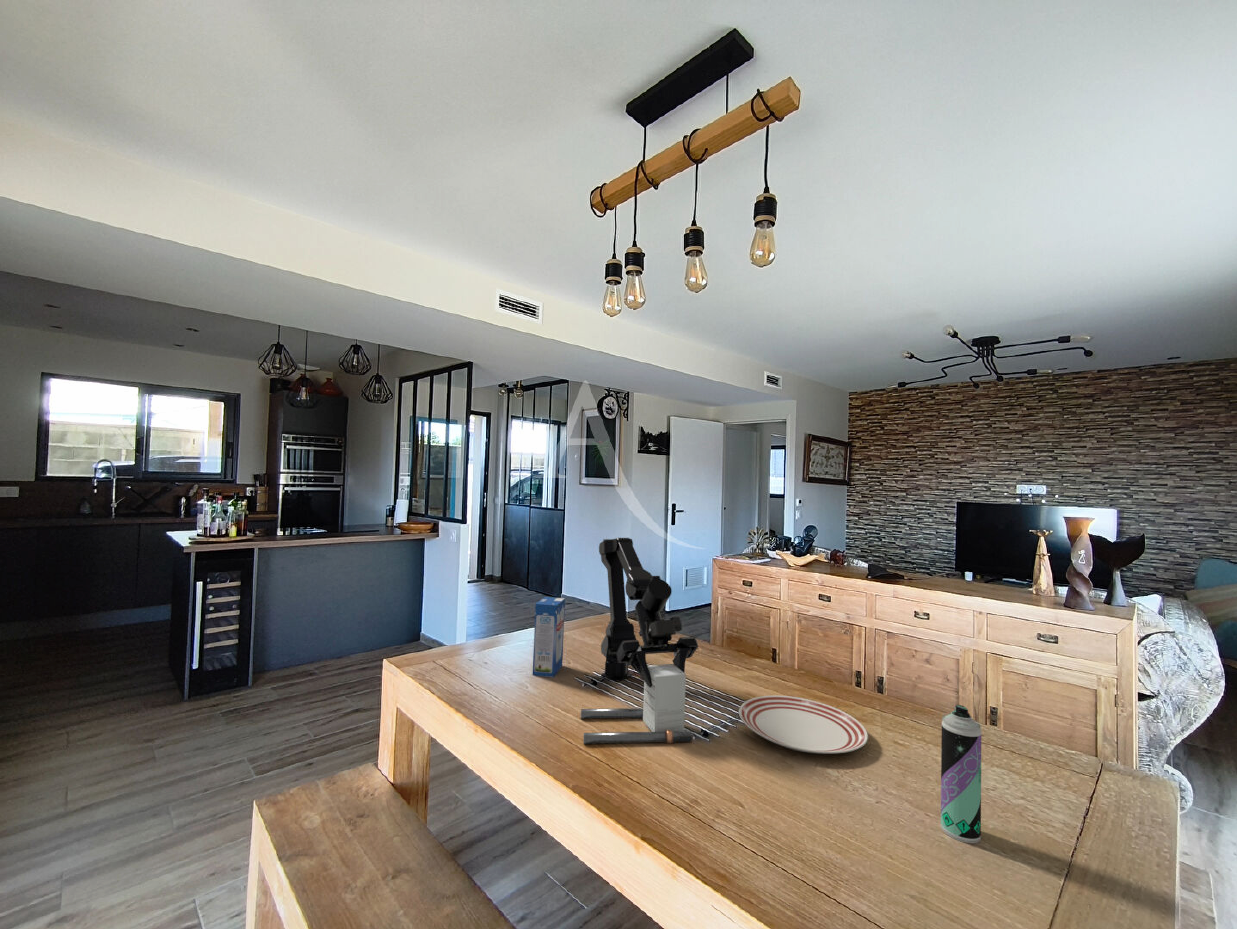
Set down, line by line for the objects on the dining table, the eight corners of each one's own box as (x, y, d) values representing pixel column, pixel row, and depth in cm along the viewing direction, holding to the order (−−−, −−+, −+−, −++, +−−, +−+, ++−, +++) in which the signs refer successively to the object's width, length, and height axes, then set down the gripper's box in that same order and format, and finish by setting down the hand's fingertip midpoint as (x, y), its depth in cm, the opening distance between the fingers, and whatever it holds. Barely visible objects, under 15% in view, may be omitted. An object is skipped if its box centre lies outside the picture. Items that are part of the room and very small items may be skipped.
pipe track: (583, 747, 110) (584, 734, 110) (580, 717, 124) (581, 705, 124) (692, 745, 112) (692, 732, 112) (676, 715, 127) (676, 704, 127)
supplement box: (671, 718, 124) (673, 663, 124) (684, 732, 117) (686, 673, 117) (641, 720, 121) (643, 664, 122) (653, 735, 114) (655, 675, 115)
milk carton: (542, 663, 159) (545, 596, 160) (562, 665, 158) (565, 598, 159) (532, 675, 149) (535, 603, 150) (553, 677, 148) (556, 605, 149)
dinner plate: (884, 735, 120) (885, 720, 120) (839, 781, 100) (839, 763, 100) (772, 699, 139) (772, 686, 139) (715, 731, 119) (715, 716, 119)
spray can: (932, 821, 88) (934, 699, 89) (963, 821, 89) (964, 699, 90) (956, 843, 83) (957, 713, 84) (989, 843, 83) (990, 713, 84)
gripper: (622, 605, 121) (637, 671, 110) (696, 603, 127) (717, 665, 116) (610, 630, 128) (623, 694, 117) (681, 627, 134) (699, 687, 123)
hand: (666, 685), depth 118 cm, fingers open, 7 cm apart
